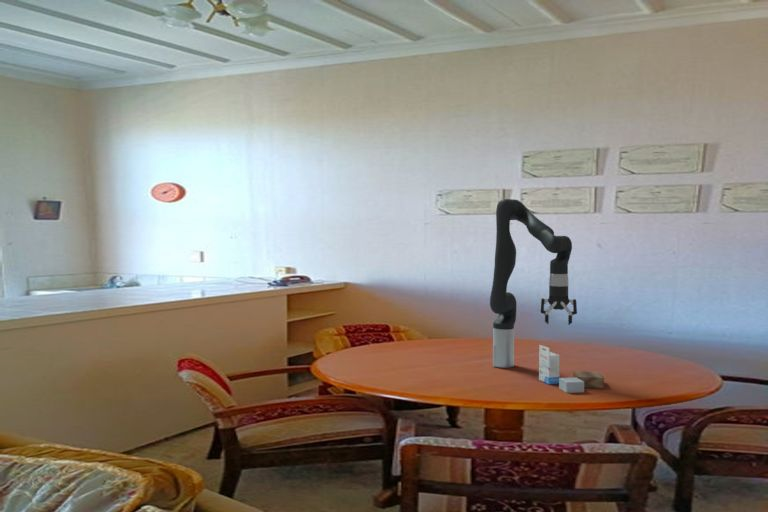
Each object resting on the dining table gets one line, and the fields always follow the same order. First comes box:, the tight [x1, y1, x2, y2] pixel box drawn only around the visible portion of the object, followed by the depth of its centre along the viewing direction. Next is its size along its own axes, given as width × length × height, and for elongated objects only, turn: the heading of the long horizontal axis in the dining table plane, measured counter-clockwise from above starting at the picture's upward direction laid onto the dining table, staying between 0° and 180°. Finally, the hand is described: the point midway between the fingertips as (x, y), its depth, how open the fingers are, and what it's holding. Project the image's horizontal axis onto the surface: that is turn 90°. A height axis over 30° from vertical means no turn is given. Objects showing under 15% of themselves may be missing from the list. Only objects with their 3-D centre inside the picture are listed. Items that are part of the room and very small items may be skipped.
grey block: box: [558, 377, 585, 394], centre depth 234 cm, size 7×7×4 cm
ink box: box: [538, 344, 561, 385], centre depth 247 cm, size 8×5×15 cm, turn 14°
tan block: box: [572, 370, 605, 389], centre depth 243 cm, size 10×10×4 cm
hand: (558, 324), depth 249 cm, fingers open, 8 cm apart
